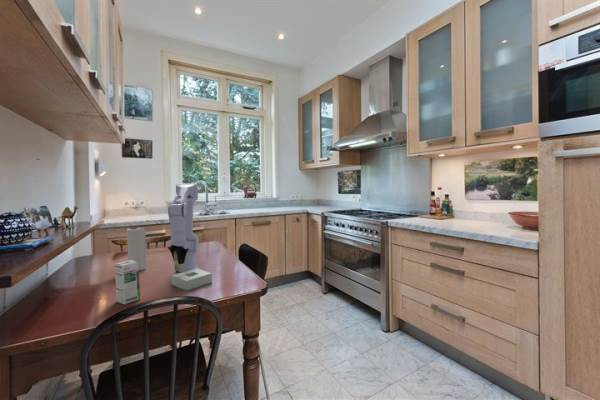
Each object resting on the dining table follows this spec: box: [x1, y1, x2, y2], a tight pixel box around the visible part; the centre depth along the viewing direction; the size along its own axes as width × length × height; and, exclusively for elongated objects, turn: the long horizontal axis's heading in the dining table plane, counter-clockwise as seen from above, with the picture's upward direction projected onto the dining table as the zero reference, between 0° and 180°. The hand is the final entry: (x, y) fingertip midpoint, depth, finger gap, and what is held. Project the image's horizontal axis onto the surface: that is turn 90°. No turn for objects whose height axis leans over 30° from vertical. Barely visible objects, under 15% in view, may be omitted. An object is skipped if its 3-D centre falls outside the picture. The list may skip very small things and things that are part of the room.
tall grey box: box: [126, 227, 148, 271], centre depth 139 cm, size 7×6×21 cm
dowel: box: [173, 251, 183, 271], centre depth 117 cm, size 3×3×8 cm
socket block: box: [170, 267, 213, 291], centre depth 119 cm, size 12×12×4 cm
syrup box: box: [114, 260, 141, 305], centre depth 102 cm, size 6×6×14 cm
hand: (179, 263), depth 117 cm, fingers closed on dowel, 3 cm apart
